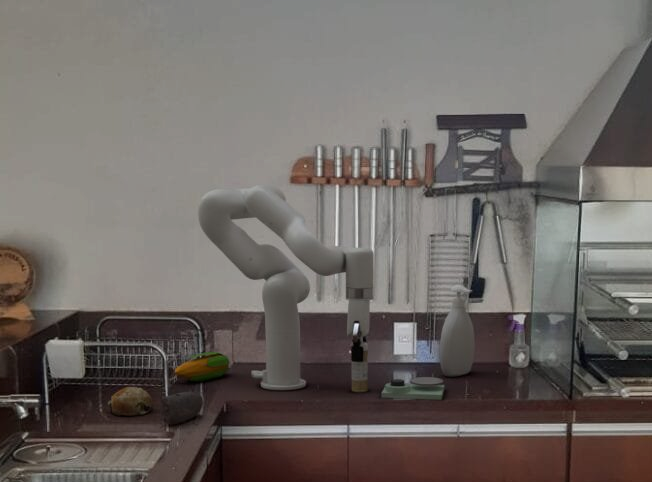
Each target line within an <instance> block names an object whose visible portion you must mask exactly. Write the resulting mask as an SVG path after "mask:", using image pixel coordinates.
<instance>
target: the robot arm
mask: <svg viewBox="0 0 652 482" xmlns="http://www.w3.org/2000/svg"><path fill="white" fill-rule="evenodd" d="M286 200H287V199H286V196H285V193H284V192H283V191H282V190H281V189H280V188H279V187H277V186H276V185H271V184H257V185H254V186H252V187H247V188H232V189H231V188H230V189H229V188H228V189H227V188H218V189H213V190H210V191H208V192H206V193H205V194H204V195H203V196H202V197H201V199H200V200H199V203H198V209H197V217H198V222H199V226H200V228H201V230H202V232H203V233H204V235H205V236H206V237H207V238H208V240H209V241H211V243H212V244H213V245H214V246H216V248H217V249H219V251H220V252H221V253H223V255H224V256H225V257H226V258H227V259H228V260H229V261H230V262H231V263H232V264H233V265H234V266H235V267H236V268H237V269H238V270H239V271H240V272H241V274H243V275H244V277H246V278H248V279H249V280H253V281H258V280H259V281H260V280H265V282H264V283H263V285H262V290H261V297H262V298H261V299H262V305H263V311H264V320H265V323H264V328H265V329H264V330H265V369H262V370H251V375H250V376H251V378H253V379H261V382H260V387H261V388H262V389H266V390H270V391H294V390H299V389H304V388H305V387H306V386H307V381H306V380H305V379H303V378H301V321H300V314H299V313H300V312H299V307H298V305H299V304H300V303H303V302H304V301H305V300H306V299H307V298H308V297H309V295H310V291H311V284H310V281H309V279H308V277H307V276H306V274H305V273H304V272H303V271H302V270H301V269H300V268H299V267H298V266H297V265H296V264H295V263H294V262H293V261H292V260H291V259H290V258H289V257H288V256H287V255H285V253H284V252H283V251H282V250H280V249H279V248H278V247H277V246H274V245H272V244H268V243H267V244H266V243H264V244H259V243H258V242H257V241H255V240H254V239H253V238H252V237H251V236H250V235H249V234H248V233H247V232H246V231H245V230H244V229H243V228H241V227H240V226H239V225H238V224H236V223H235V222H234V221H233V220H243V219H255V218H256V219H257V220H258V221H259V222H261V223H262V224H264V226H266V227H267V228H268V229H269V230H271V232H273V233H274V234H275V235H276V236H278V237H279V238H280V239H281V240H282V241H283V242H284V244H285V246H286V247H287V248H288V249H289V251H291V253H292V254H293V255H294V257H296V258H297V259H298V260H299V261H300V262H301V263H303V264H304V265H305V266H307V267H308V269H310V270H311V271H313V272H314V273H315V274H317V275H320V276H321V277H322V276H323V277H330V276H333V275H339V274H345V300H346V301H348V305H347V318H346V319H347V321H346V322H347V323H346V336H347V337H348V338H349V337H351V343H352V347H351V346H350V360H351V363H352V362H363V347H362V343H363V342H366V343H368V334H369V332H370V322H371V318H370V317H371V312H370V311H371V309H370V308H371V307H370V306H371V305H370V302H371V301H373V300H374V299H375V298H374V296H375V295H374V294H375V293H374V292H375V291H374V290H375V289H374V288H375V287H374V283H375V282H374V279H375V277H374V276H375V275H374V272H375V270H374V267H375V262H374V261H375V258H374V257H375V256H374V255H375V254H374V251H373V250H372V249H371V248H370V247H345V246H340V245H329V246H326V245H325V244H324V243H323V242H321V241H320V240H319V239H318V238H317V237H316V236H315V235H314V234H312V232H310V230H309V229H308V227H307V224H306V219H305V217H304V216H303V214H302V213H301V212H299V211H298V210H297V209H296V208H294V207H293V206H292V205H290V204H289V203H288V202H287V201H286ZM368 344H369V343H368ZM368 351H369V349H368V350H367V356H368Z"/></svg>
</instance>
